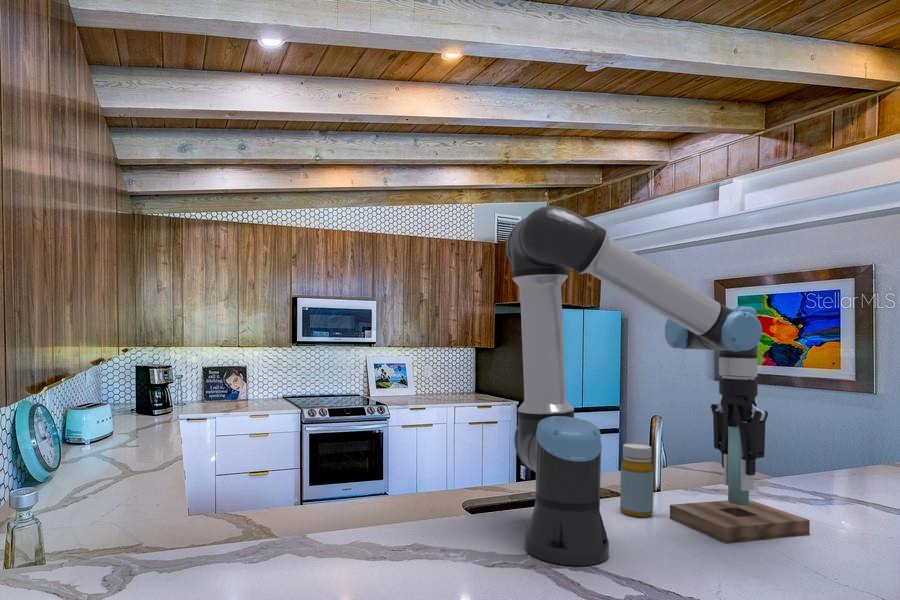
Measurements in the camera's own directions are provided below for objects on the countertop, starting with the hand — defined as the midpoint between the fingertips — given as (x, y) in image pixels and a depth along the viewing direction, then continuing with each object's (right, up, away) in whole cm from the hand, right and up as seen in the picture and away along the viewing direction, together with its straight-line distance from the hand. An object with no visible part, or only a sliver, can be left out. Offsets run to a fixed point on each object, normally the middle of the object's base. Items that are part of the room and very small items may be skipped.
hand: (738, 487), depth 126 cm
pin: (0, -3, 0) cm, 3 cm away
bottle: (-20, -8, +7) cm, 22 cm away
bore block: (0, -8, -1) cm, 8 cm away
